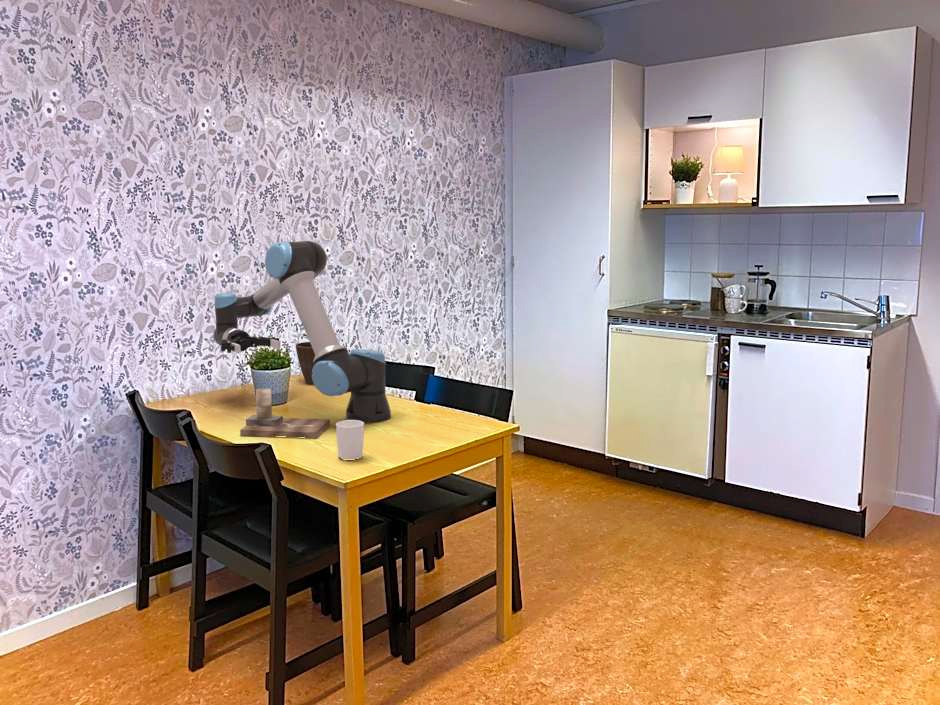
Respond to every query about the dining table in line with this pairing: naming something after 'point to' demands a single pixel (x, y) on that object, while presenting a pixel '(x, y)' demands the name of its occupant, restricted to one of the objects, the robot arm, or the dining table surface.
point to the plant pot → (306, 360)
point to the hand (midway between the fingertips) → (259, 347)
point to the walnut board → (289, 428)
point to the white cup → (350, 438)
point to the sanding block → (264, 410)
